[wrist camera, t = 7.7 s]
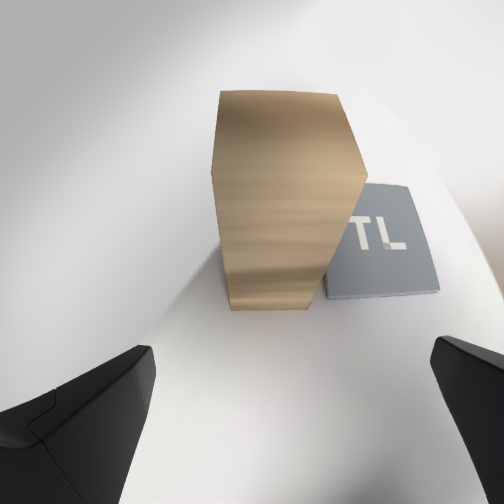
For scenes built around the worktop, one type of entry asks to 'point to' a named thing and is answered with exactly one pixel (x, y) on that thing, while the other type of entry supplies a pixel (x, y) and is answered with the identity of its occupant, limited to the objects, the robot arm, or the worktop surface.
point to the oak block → (282, 193)
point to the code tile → (382, 249)
